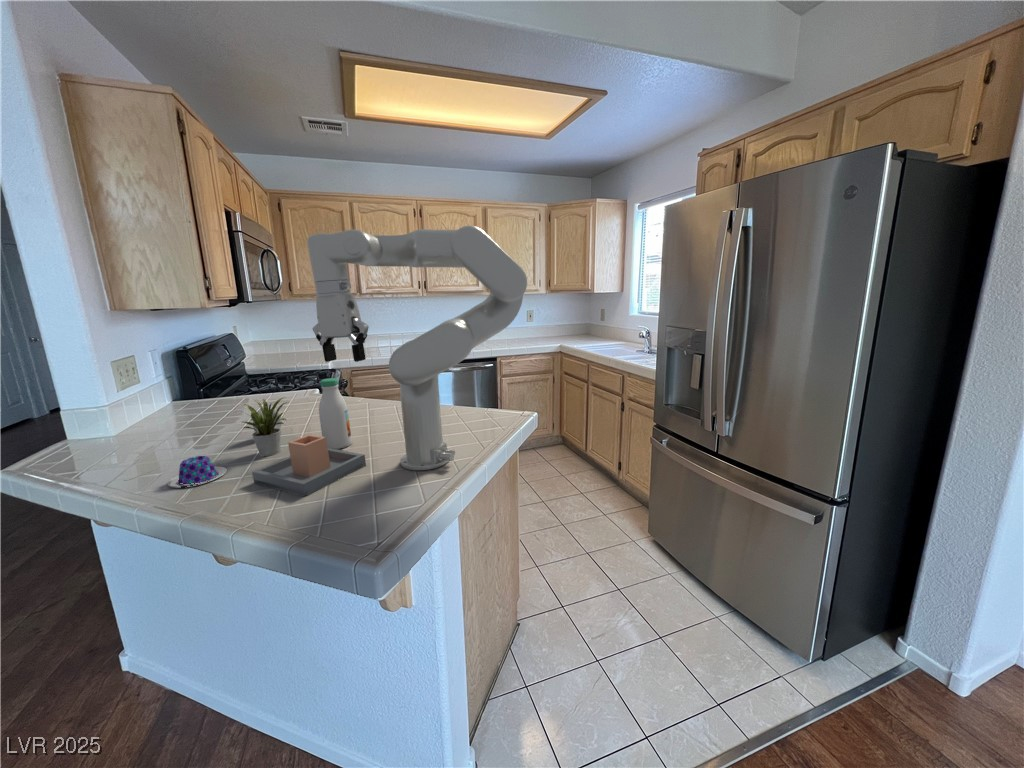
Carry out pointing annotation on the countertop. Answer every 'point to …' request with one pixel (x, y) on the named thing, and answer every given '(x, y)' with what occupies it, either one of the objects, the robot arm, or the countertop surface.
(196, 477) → the purple dotted hat
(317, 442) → the open square box
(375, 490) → the countertop surface
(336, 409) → the milk bottle
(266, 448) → the house plant
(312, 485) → the tray
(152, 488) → the countertop surface
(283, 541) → the countertop surface
